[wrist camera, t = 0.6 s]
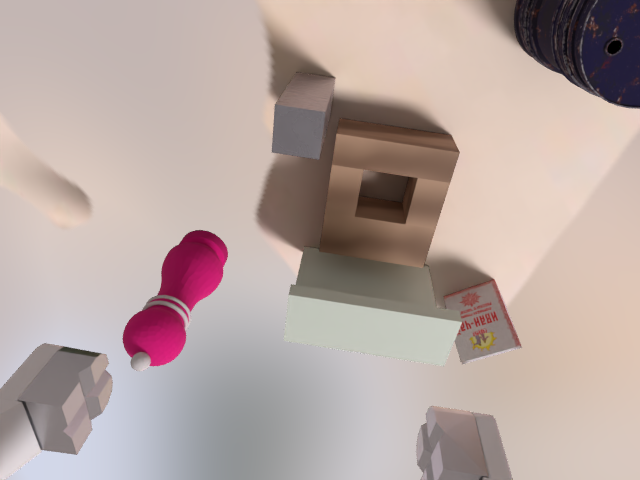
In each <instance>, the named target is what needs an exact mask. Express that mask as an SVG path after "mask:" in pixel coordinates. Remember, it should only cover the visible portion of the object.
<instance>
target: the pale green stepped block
mask: <svg viewBox="0 0 640 480" xmlns="http://www.w3.org/2000/svg"><path fill="white" fill-rule="evenodd" d="M461 324H462V319H461V315H460V312H459V311H456V310H449V309H443V308H437V307H436V302H435V296H434V291H433V286H432V281H431V276H430V271H429V266H426V265H424V267H423V268H420V267H413V266H407V265H401V264H394V263H388V262H381V261H375V260H369V259H362V258H356V257H350V256H343V255H337V254H331V253H324V252H319V249H317V248H311V247H305V246H304V251H303V255H302V259H301V264H300V268H299V272H298V277H297V281H296V285H291V287H290V292H289V297H288V306H287V316H286V325H285V334H284V341H289V342H295V343H301V344H307V345H314V346H320V347H326V348H332V349H338V350H345V351H351V352H357V353H363V354H370V355H376V356H383V357H389V358H395V359H401V360H407V361H414V362H420V363H426V364H432V365H438V366H444V365H445V363H446V360H447V358H448V355H449V353H450V350H451V348H452V346H453V343H454V341H455V338H456V336H457V334H458V331H459V329H460V326H461Z"/></svg>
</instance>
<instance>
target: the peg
mask: <svg viewBox="0 0 640 480" xmlns="http://www.w3.org/2000/svg"><path fill="white" fill-rule="evenodd" d="M334 85H335V78H334V77H327V76H321V75H314V74H307V73H301V72H296V74H295V75H294V77H293V78H292V80H291V81H290V83H289V84H288V86H287V87H286V89H285V90H284V92H283V93H282V95H281V96H280V98H279V99H278V101H277V102H276V104H275V112H274V127H273V143H272V152H273V153H279V154H286V155H292V156H299V157H305V158H312V159H318V160H319V159H320V155H321V151H322V147H323V143H324V139H325V135H326V131H327V127H328V123H329V119H330V115H331V107H332V100H333V93H334Z"/></svg>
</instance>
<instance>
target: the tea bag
mask: <svg viewBox="0 0 640 480" xmlns="http://www.w3.org/2000/svg"><path fill="white" fill-rule="evenodd" d="M444 301H445V306H446V309H449V310H456V311H459V312H460V315H461V319H462V324H461V326H460V329H459V331H458V334H457V336H456V338H455V344H456V347H457V350H458V353H459V357H460V360H461V362H462V364H465V363H469V362H472V361H476V360H480V359H483V358H487V357H490V356H494V355H497V354H501V353H505V352H508V351H512V350H515V349H518V348H522V347H521V344H520V342H519V339H518V336H517V333H516V330H515V328H514V325H513V323H512V320H511V318H510V315H509V313H508V310H507V308H506V305H505V303H504V300H503V298H502V295H501V293H500V291H499V289H498V286H497V284H496V282H495V280H491V281H488V282H485V283H482V284H479V285H476V286H473V287H470V288H468V289H465V290H462V291H459V292H456V293H453V294H450V295H447V296H444Z"/></svg>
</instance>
